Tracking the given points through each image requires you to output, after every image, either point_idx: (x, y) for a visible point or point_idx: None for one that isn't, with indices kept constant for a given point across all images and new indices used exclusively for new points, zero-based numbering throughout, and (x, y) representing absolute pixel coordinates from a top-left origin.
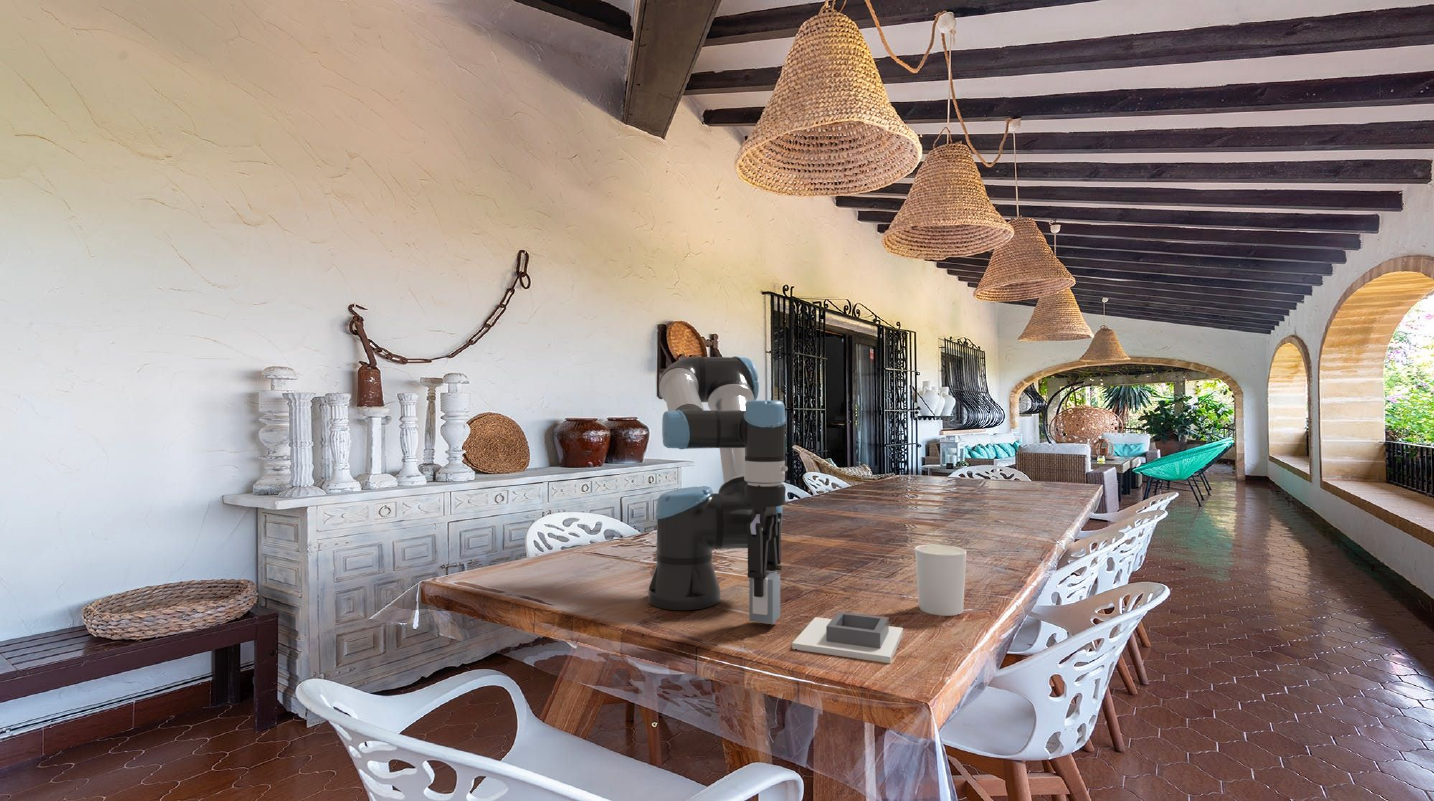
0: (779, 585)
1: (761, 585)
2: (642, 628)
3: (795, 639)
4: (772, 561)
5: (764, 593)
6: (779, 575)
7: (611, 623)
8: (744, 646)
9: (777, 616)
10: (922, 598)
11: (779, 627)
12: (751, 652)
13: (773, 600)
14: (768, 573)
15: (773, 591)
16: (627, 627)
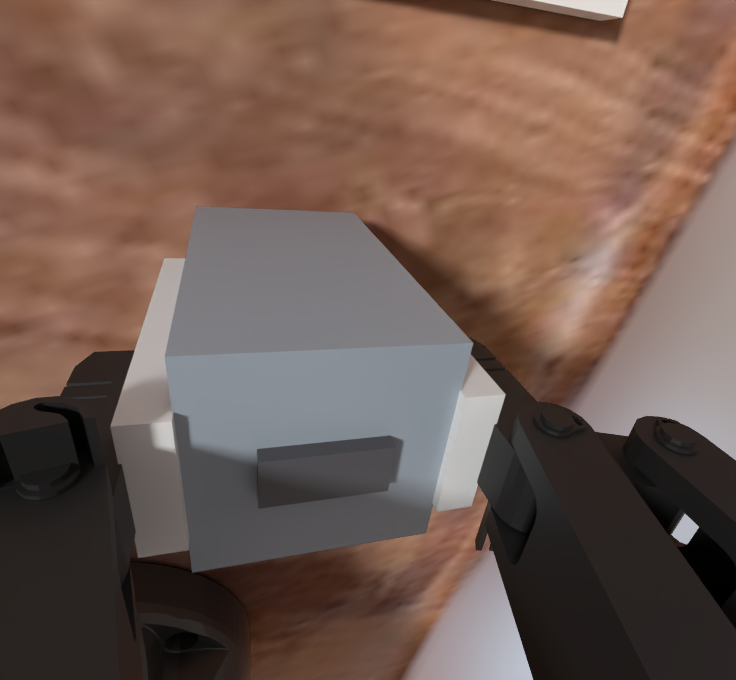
0: (207, 293)
1: (517, 387)
2: (442, 579)
3: (566, 6)
4: (117, 590)
5: None
6: (204, 348)
7: (420, 640)
8: (567, 262)
9: (262, 213)
10: None
11: (274, 181)
12: (629, 213)
13: (377, 259)
14: (292, 459)
15: (401, 287)
16: (442, 604)
